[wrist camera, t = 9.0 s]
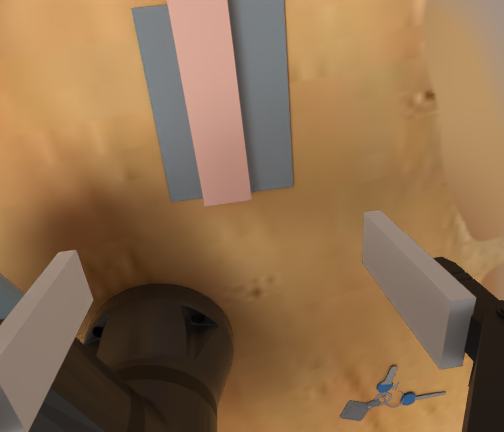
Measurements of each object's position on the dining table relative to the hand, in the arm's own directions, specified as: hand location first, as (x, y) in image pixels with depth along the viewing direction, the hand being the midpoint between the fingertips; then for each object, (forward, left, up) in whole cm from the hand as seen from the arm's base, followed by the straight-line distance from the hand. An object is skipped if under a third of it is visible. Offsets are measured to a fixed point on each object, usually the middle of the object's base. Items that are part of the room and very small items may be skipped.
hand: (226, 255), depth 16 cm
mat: (+5, -1, -16) cm, 17 cm away
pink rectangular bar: (+6, 0, -16) cm, 17 cm away
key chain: (-32, -17, -17) cm, 40 cm away
